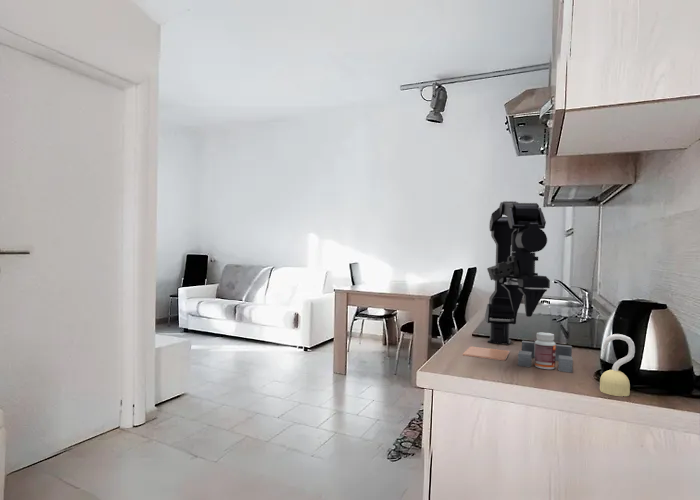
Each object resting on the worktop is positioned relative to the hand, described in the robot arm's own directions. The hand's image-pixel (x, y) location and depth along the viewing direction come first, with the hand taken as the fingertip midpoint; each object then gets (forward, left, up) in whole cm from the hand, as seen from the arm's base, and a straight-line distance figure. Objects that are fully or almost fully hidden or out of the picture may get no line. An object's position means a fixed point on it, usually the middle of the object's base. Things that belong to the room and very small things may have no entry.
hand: (521, 313), depth 109 cm
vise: (-8, +6, -13) cm, 16 cm away
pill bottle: (-1, +6, -13) cm, 14 cm away
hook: (+13, +20, -13) cm, 27 cm away
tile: (-8, -9, -13) cm, 18 cm away
